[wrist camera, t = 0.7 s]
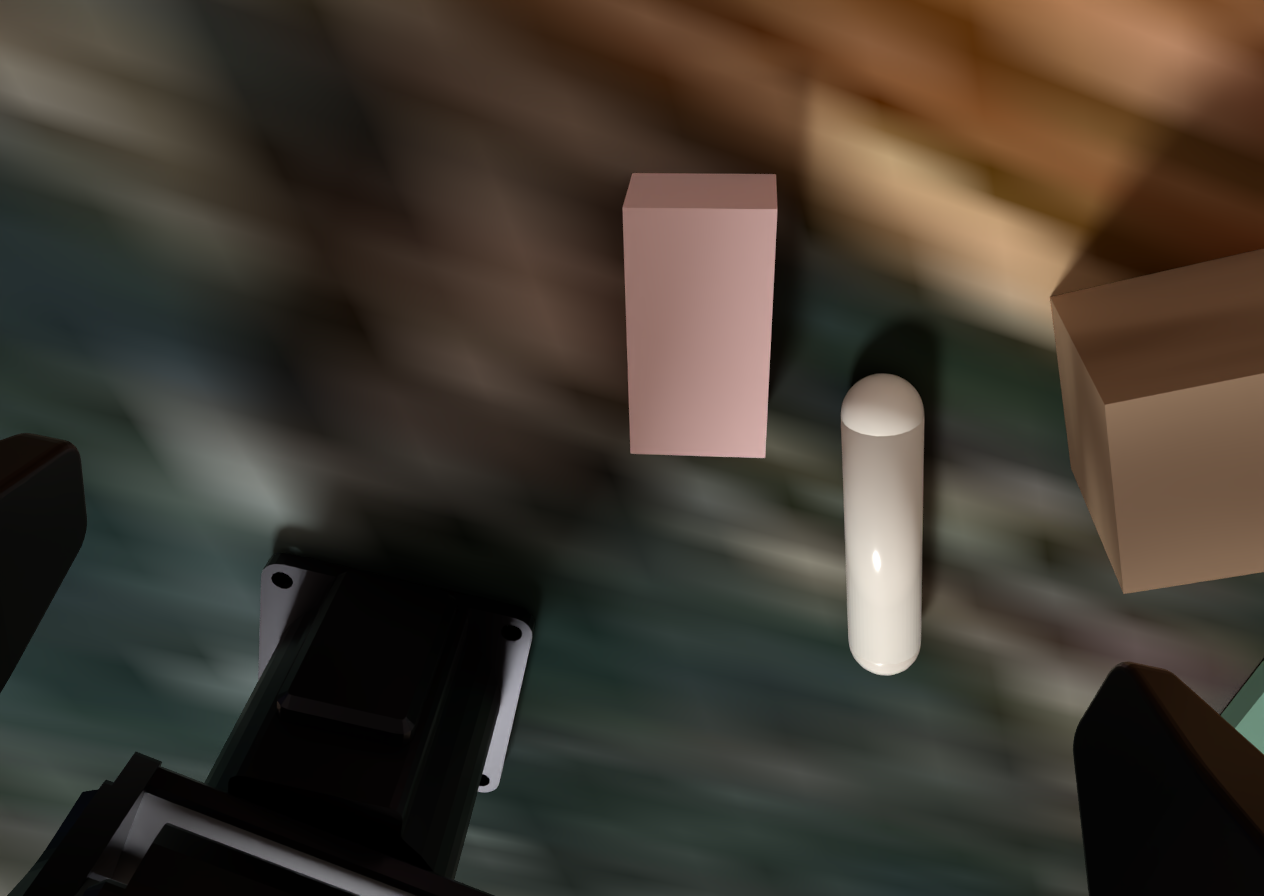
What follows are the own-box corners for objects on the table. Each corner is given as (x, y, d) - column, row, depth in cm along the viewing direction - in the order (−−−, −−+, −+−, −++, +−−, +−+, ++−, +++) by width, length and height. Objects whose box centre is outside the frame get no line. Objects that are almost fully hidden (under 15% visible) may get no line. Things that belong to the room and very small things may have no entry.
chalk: (916, 639, 25) (924, 689, 24) (846, 641, 26) (851, 691, 24) (919, 355, 21) (929, 397, 20) (837, 361, 22) (842, 402, 20)
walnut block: (1282, 425, 21) (1377, 554, 18) (1070, 465, 22) (1124, 593, 19) (1282, 242, 19) (1390, 347, 16) (1049, 294, 20) (1104, 404, 17)
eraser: (764, 404, 22) (765, 457, 21) (639, 401, 23) (630, 453, 21) (775, 169, 20) (777, 209, 18) (633, 167, 20) (622, 207, 18)
